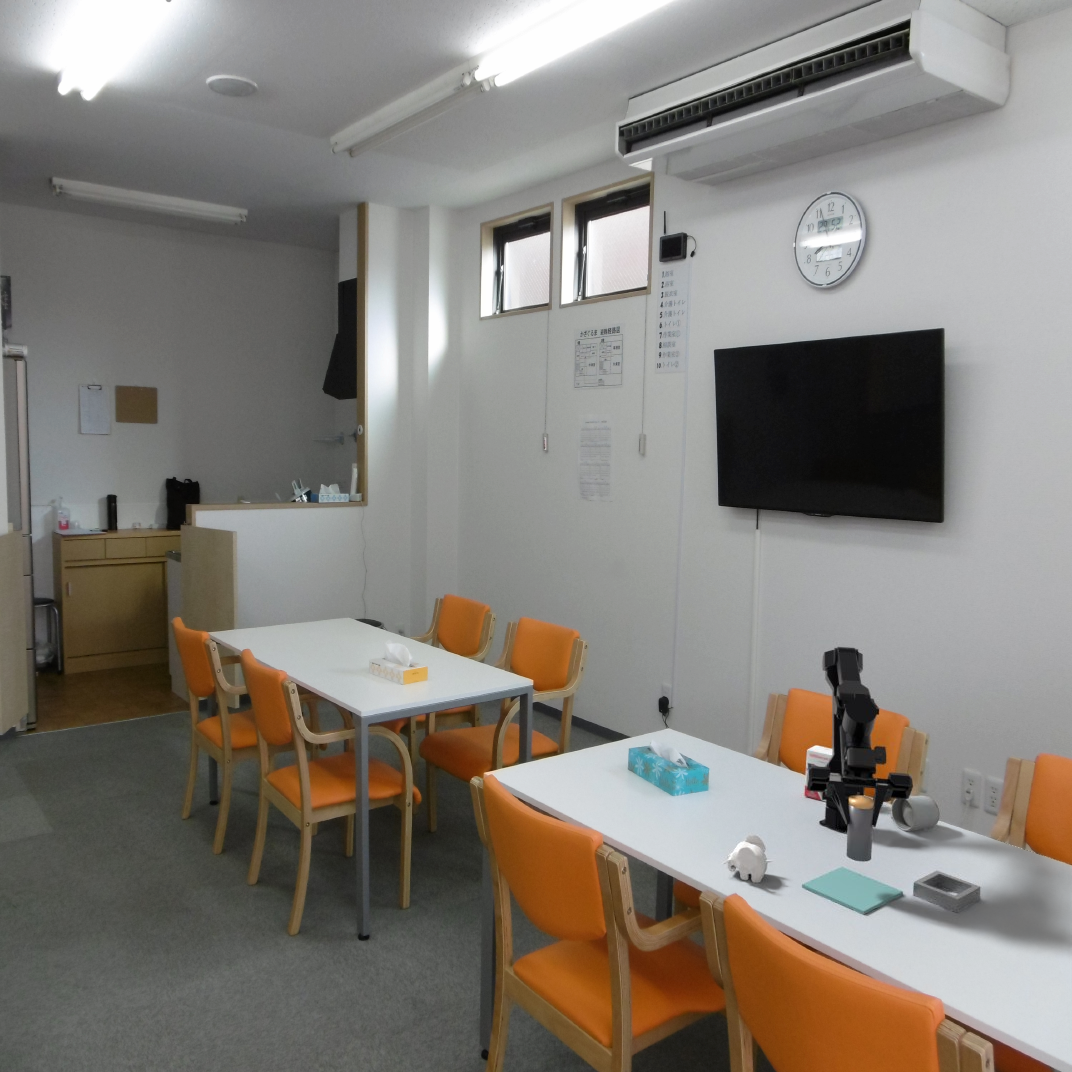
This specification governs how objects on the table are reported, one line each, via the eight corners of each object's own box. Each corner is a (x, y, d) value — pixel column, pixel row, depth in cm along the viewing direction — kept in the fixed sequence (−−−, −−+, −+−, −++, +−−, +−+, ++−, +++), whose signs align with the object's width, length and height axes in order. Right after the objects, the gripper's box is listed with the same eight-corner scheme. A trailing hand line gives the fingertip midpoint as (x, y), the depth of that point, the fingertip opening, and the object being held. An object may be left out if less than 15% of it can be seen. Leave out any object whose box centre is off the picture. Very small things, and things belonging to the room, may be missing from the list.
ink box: (803, 796, 220) (805, 749, 219) (811, 791, 224) (813, 744, 223) (838, 805, 215) (840, 757, 214) (846, 800, 218) (848, 752, 218)
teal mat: (841, 869, 180) (841, 866, 180) (902, 894, 170) (902, 891, 170) (801, 887, 172) (802, 884, 172) (863, 914, 162) (863, 911, 162)
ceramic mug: (941, 831, 200) (942, 798, 199) (913, 836, 197) (914, 802, 197) (908, 816, 209) (909, 784, 209) (880, 820, 207) (881, 788, 206)
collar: (936, 883, 175) (936, 870, 174) (979, 899, 168) (980, 886, 168) (913, 895, 170) (913, 882, 169) (956, 912, 163) (957, 899, 163)
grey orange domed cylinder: (862, 850, 173) (865, 794, 172) (876, 860, 168) (878, 803, 168) (841, 852, 172) (844, 795, 171) (854, 862, 167) (857, 804, 167)
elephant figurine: (726, 863, 182) (728, 828, 182) (775, 873, 178) (776, 837, 178) (717, 878, 175) (718, 842, 175) (767, 889, 171) (769, 852, 171)
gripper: (810, 725, 174) (812, 801, 164) (913, 732, 170) (922, 811, 160) (805, 752, 182) (807, 826, 173) (904, 760, 178) (911, 837, 169)
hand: (861, 825), depth 168 cm, fingers closed on grey orange domed cylinder, 4 cm apart
